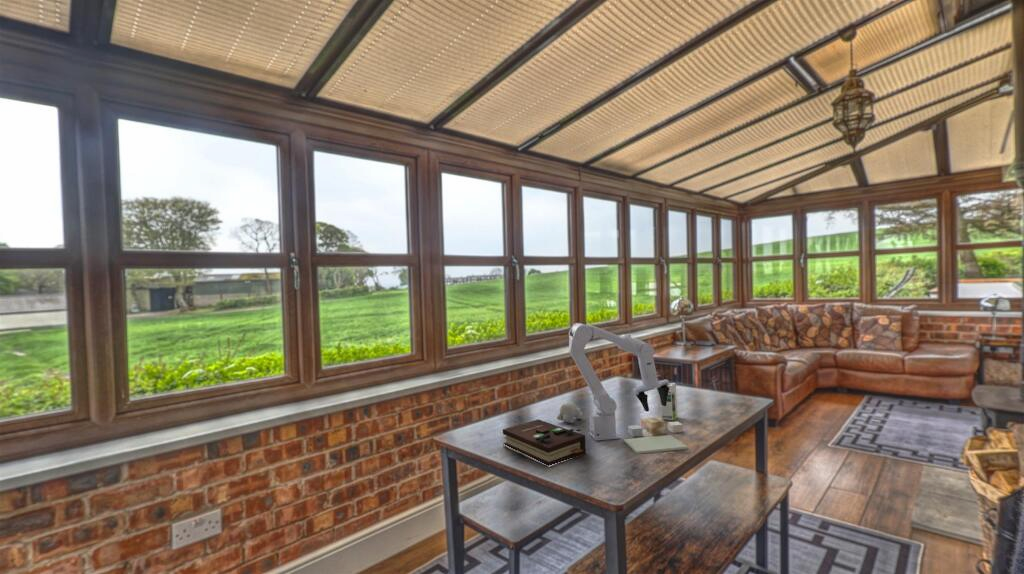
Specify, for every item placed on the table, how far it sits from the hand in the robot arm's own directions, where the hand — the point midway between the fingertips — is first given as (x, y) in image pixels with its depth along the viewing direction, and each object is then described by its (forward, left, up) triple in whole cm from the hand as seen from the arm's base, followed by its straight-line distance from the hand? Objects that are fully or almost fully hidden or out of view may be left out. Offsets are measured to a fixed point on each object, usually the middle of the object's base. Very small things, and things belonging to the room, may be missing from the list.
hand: (655, 408), depth 172 cm
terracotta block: (0, +6, -10) cm, 12 cm away
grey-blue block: (-8, 0, -10) cm, 13 cm away
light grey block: (+8, 0, -10) cm, 12 cm away
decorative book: (-45, -6, -10) cm, 47 cm away
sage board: (-6, -12, -9) cm, 17 cm away
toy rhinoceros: (-27, +22, -10) cm, 36 cm away
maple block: (0, 0, -9) cm, 9 cm away
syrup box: (+13, +15, -10) cm, 22 cm away
